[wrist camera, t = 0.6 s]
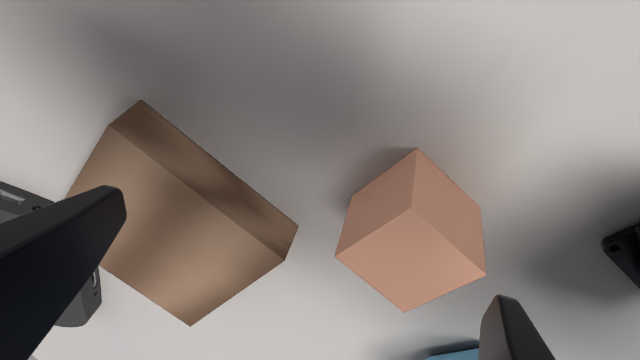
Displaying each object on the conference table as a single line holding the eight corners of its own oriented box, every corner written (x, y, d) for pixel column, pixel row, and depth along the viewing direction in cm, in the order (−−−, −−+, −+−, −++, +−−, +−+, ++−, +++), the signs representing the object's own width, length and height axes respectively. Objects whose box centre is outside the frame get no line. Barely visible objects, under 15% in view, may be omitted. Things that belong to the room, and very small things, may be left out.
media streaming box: (-31, 265, 42) (-59, 290, 39) (-84, 146, 33) (-125, 168, 30) (108, 317, 41) (87, 344, 39) (94, 210, 32) (66, 238, 30)
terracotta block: (479, 206, 23) (486, 275, 19) (410, 245, 26) (404, 312, 22) (417, 146, 22) (411, 207, 18) (352, 195, 25) (334, 256, 21)
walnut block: (298, 226, 27) (284, 260, 25) (207, 295, 34) (190, 326, 32) (140, 99, 24) (108, 124, 22) (76, 202, 31) (46, 230, 29)
